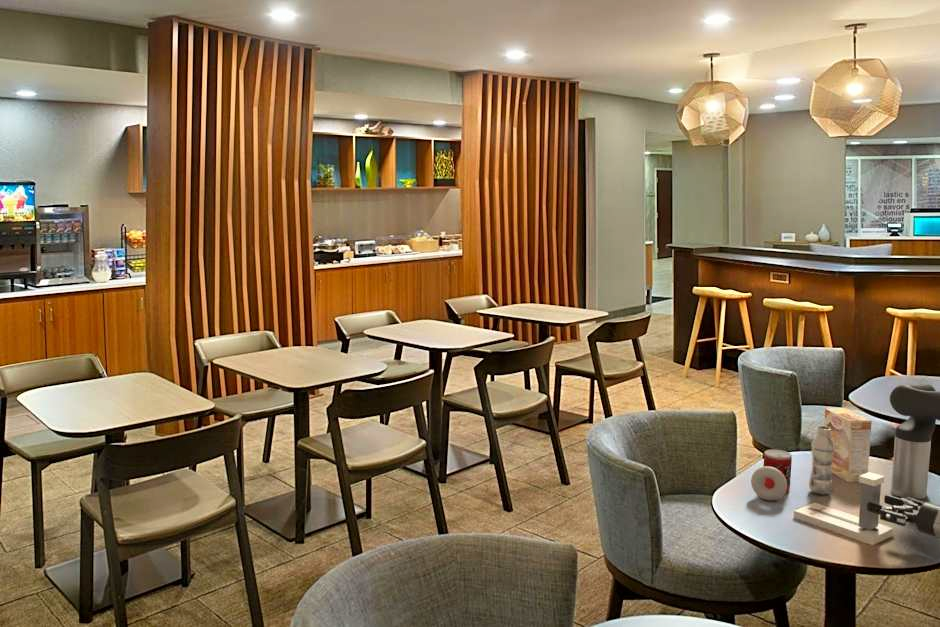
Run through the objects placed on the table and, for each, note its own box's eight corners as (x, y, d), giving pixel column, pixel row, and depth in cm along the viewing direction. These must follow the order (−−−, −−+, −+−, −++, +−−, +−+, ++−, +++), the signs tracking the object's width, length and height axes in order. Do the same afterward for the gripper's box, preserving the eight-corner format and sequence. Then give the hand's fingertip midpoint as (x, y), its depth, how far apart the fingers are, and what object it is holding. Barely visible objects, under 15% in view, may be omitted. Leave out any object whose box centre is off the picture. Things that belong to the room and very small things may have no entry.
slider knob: (865, 521, 214) (869, 472, 212) (880, 526, 210) (884, 476, 208) (855, 526, 211) (859, 475, 209) (870, 531, 208) (874, 480, 206)
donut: (787, 501, 234) (789, 468, 233) (784, 505, 231) (786, 471, 230) (751, 494, 240) (753, 462, 238) (748, 498, 237) (750, 465, 235)
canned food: (777, 495, 239) (779, 459, 238) (756, 486, 246) (758, 451, 245) (795, 490, 243) (797, 455, 241) (774, 482, 250) (776, 447, 248)
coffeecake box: (820, 466, 264) (824, 408, 262) (841, 465, 265) (845, 407, 262) (846, 482, 250) (850, 420, 247) (868, 481, 250) (872, 420, 248)
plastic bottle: (827, 489, 244) (831, 424, 241) (835, 497, 237) (839, 431, 234) (805, 488, 244) (809, 424, 241) (812, 497, 238) (816, 430, 235)
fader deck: (814, 509, 228) (814, 502, 228) (892, 535, 211) (893, 527, 210) (793, 517, 222) (794, 510, 222) (872, 545, 205) (873, 537, 205)
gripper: (957, 501, 199) (891, 482, 212) (930, 514, 191) (862, 494, 204) (955, 530, 200) (889, 509, 213) (927, 545, 192) (860, 522, 205)
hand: (876, 502), depth 208 cm, fingers open, 8 cm apart
